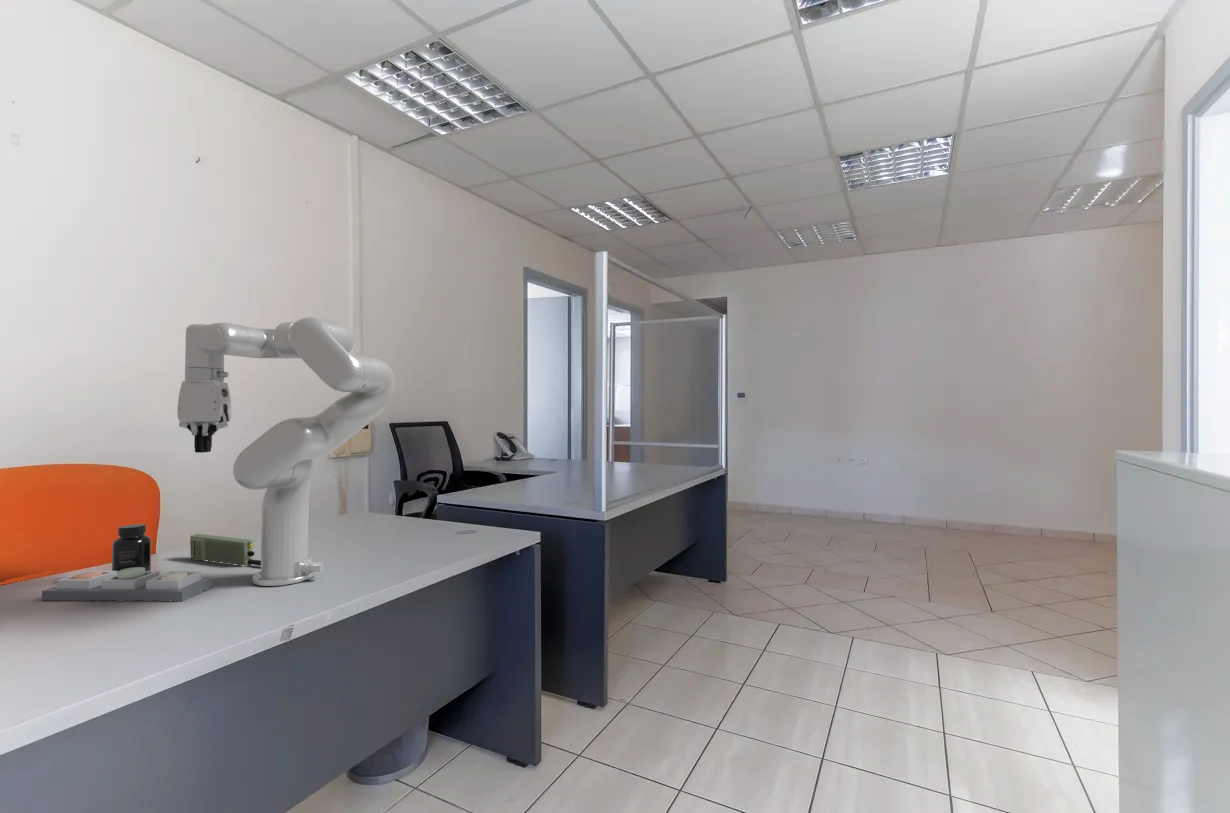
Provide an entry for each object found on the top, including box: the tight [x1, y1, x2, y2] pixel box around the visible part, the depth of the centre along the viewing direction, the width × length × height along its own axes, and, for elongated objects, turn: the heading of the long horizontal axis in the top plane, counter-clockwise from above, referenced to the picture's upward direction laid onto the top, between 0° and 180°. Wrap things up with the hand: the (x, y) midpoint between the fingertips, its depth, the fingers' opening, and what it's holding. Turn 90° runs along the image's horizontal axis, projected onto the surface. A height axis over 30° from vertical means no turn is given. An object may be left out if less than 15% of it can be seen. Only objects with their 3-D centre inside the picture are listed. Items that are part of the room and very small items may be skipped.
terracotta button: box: [73, 570, 102, 579], centre depth 116 cm, size 4×4×2 cm
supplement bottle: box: [111, 523, 152, 574], centre depth 127 cm, size 7×7×12 cm
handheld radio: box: [189, 533, 261, 567], centre depth 140 cm, size 7×3×25 cm
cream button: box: [161, 572, 188, 580], centre depth 117 cm, size 4×4×2 cm
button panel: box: [41, 570, 214, 602], centre depth 116 cm, size 28×9×4 cm, turn 92°
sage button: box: [117, 567, 145, 580], centre depth 116 cm, size 4×4×2 cm
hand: (202, 451), depth 131 cm, fingers closed
